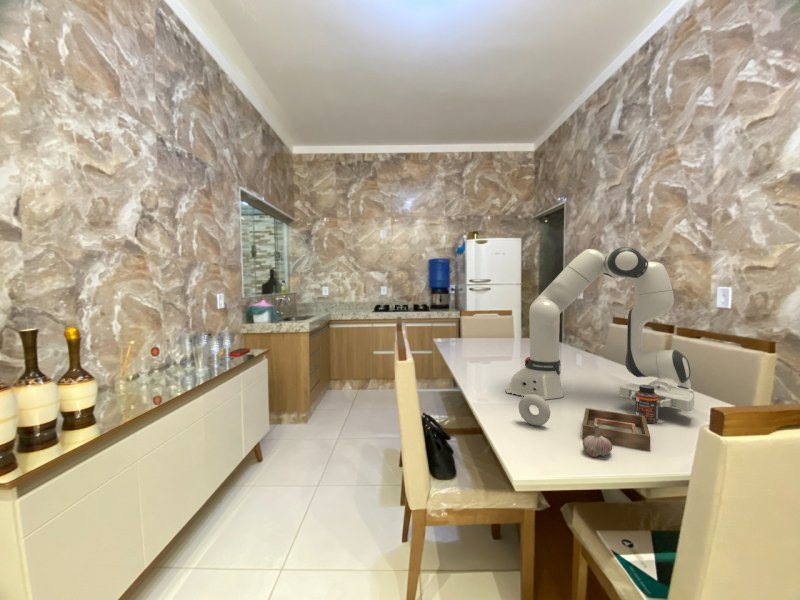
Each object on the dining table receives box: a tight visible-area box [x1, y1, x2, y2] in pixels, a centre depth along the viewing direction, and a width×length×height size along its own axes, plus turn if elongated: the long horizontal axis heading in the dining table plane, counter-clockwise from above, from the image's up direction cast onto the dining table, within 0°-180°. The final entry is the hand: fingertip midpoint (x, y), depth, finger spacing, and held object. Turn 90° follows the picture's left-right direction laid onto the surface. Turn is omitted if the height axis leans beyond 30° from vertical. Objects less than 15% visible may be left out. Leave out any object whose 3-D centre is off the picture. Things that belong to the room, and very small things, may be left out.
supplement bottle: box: [634, 384, 659, 424], centre depth 112 cm, size 6×6×11 cm
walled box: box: [582, 407, 651, 452], centre depth 103 cm, size 16×16×4 cm
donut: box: [518, 394, 551, 427], centre depth 111 cm, size 10×4×10 cm, turn 48°
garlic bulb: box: [582, 424, 613, 458], centre depth 92 cm, size 8×7×8 cm
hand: (645, 401), depth 112 cm, fingers closed on supplement bottle, 6 cm apart
